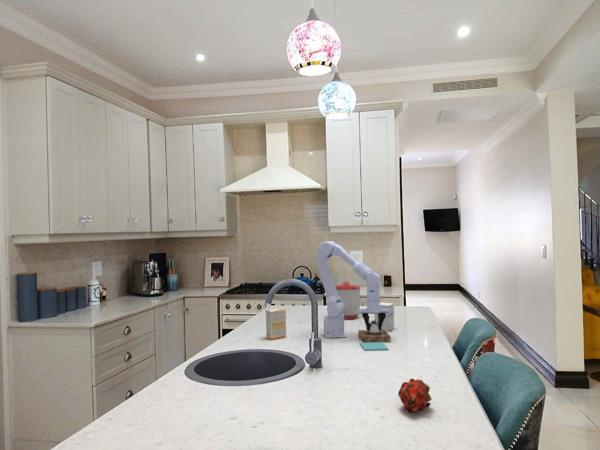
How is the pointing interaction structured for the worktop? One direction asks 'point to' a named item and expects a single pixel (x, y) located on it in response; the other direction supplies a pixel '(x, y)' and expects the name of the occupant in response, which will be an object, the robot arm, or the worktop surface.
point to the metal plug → (373, 328)
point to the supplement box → (275, 323)
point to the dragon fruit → (415, 395)
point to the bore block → (374, 336)
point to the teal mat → (373, 346)
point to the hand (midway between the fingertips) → (373, 329)
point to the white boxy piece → (387, 316)
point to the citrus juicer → (349, 299)
